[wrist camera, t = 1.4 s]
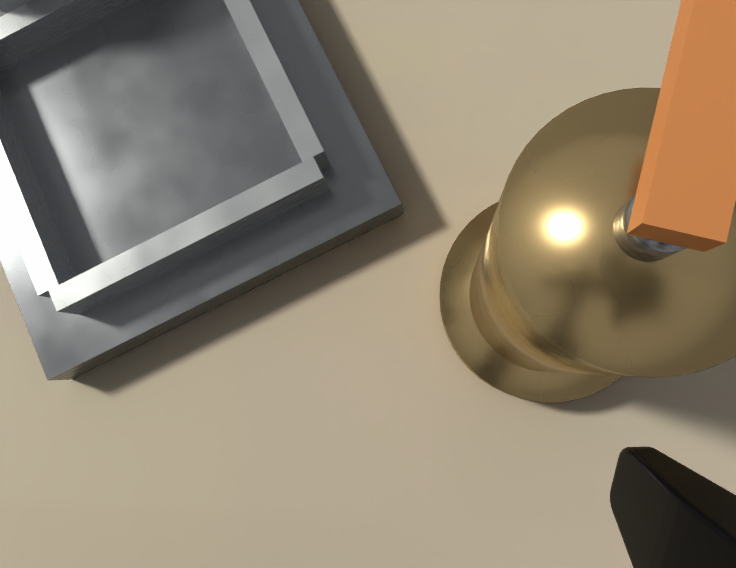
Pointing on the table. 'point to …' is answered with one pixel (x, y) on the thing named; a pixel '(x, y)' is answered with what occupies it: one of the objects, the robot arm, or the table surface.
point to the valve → (611, 235)
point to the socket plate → (167, 164)
